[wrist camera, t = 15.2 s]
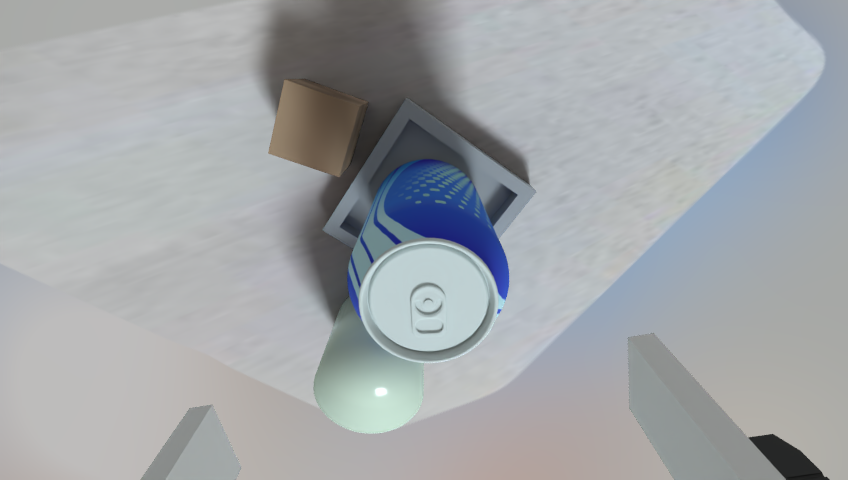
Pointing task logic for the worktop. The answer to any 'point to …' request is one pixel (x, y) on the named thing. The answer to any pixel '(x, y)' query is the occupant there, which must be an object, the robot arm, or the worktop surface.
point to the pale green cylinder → (365, 379)
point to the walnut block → (317, 126)
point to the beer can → (428, 265)
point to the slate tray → (428, 139)
